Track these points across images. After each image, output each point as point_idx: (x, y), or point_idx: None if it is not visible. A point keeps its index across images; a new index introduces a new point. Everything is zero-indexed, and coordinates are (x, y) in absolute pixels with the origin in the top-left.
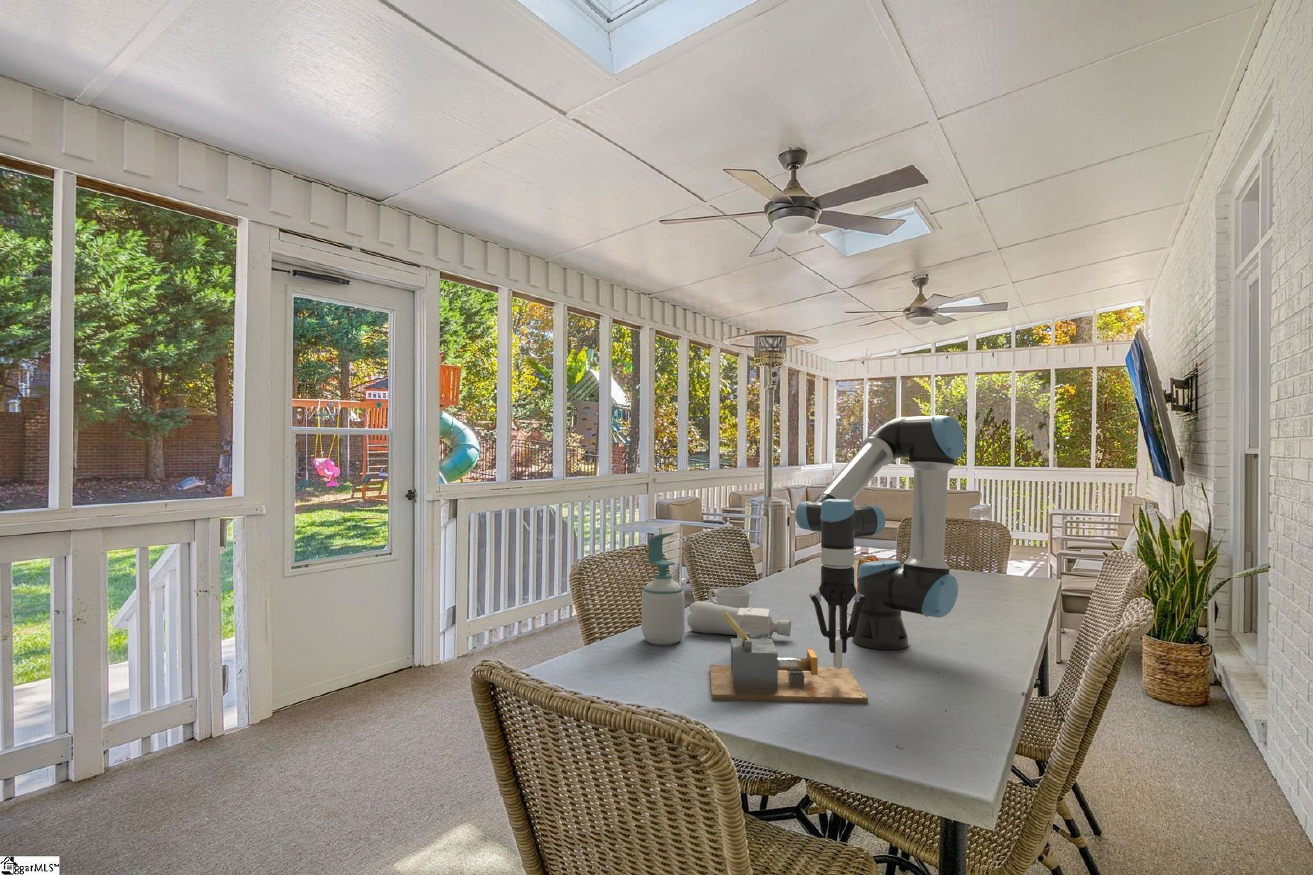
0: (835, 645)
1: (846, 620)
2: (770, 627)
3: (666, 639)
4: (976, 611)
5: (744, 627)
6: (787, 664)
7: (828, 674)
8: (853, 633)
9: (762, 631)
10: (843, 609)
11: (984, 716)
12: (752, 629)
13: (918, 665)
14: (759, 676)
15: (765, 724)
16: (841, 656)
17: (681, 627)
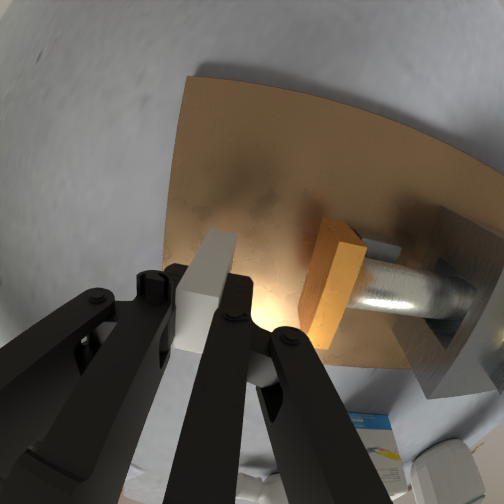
0: (223, 286)
1: (83, 381)
2: (275, 489)
3: (452, 444)
4: None
5: (391, 469)
6: (420, 275)
7: None
8: (86, 300)
9: None
10: (59, 480)
11: (5, 46)
12: (376, 467)
13: (24, 323)
14: (494, 229)
15: (492, 45)
16: (203, 248)
17: (430, 468)
